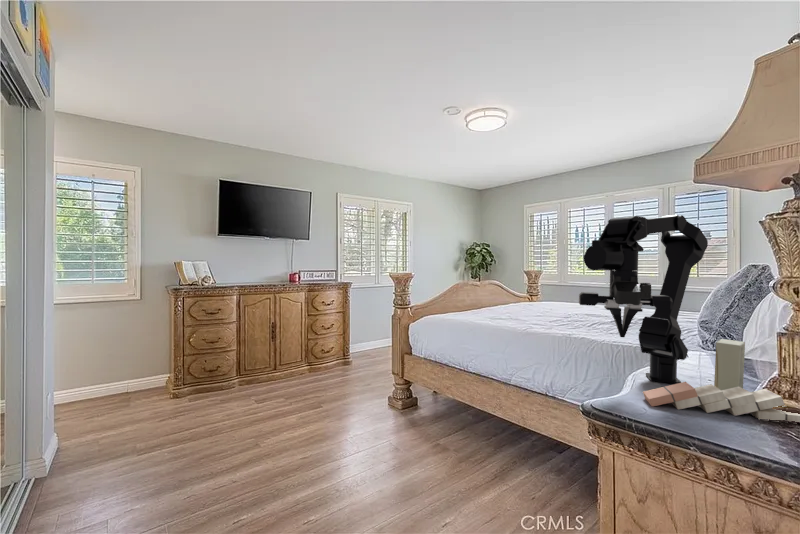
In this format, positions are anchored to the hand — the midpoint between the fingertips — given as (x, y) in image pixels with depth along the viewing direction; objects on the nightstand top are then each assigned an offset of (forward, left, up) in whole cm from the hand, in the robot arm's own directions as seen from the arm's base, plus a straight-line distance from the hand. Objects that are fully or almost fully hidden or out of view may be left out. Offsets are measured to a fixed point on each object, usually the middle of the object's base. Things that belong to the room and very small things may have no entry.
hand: (622, 337), depth 94 cm
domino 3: (+8, +22, -11) cm, 26 cm away
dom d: (+8, +17, -11) cm, 22 cm away
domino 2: (+9, +13, -11) cm, 19 cm away
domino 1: (+9, +4, -11) cm, 15 cm away
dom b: (+9, +8, -11) cm, 17 cm away
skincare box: (-4, +22, -12) cm, 25 cm away
